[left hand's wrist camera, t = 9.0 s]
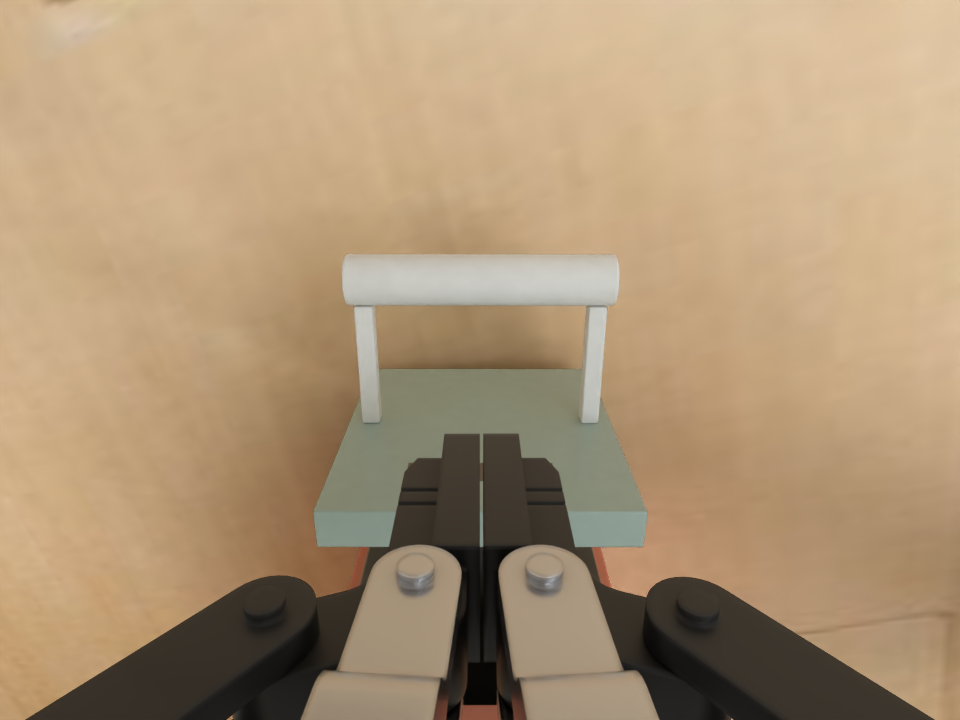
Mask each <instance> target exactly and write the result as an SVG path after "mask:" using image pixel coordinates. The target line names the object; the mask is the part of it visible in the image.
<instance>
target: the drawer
mask: <svg viewBox="0 0 960 720" xmlns="http://www.w3.org/2000/svg"><path fill="white" fill-rule="evenodd" d="M619 281H620V273H619V263H618V259H617V257H616V255H614V254H347V255H345V257H344V260H343V264H342V291H343V296H344V300H345V302H346V304H347V305H355V307H354V318H355V331H356V343H357V356H358V369H359V381H360V394H361V396H360V399H359V401H358V404H357V406H356V408H355V411H354V413H353V416H352V418H351V421H350V423H349V426H348V428H347V430H346V433H345V435H344V438H343V440H342V443H341V445H340V448H339V450H338V453H337V455H336V457H335V460H334V462H333V465H332V467H331V470H330V472H329V475H328V477H327V479H326V482H325V484H324V487H323V489H322V492H321V494H320V497H319V499H318V502H317V504H316V506H315V509H314V511H313V515H314V523H315V532H316V540H317V546H318V547H369V548H368V552H367V556H366V560H365V564H364V568H363V572H362V576H361V580H360V584H359V585H361V584H363V583H365V582H366V581H368V578H369V575H370V572H371V570H372V568H373V566H374V565H375V563H376V562H377V561H378V560H379V559H380V558H381V557H383V556H384V555H385V554H387V553H388V548H389V543H390V539H391V534H392V529H393V524H394V519H395V515H396V510H397V505H398V500H399V495H400V492H401V486H402V481H403V476H404V472H405V471H406V470H407V469H408V468H409V467H410V466H411V465H412V464H413V462H414V461H415V460H416V459H417V458H442V450H443V441H444V434H480V662H468V668H467V687H466V691H465V694H464V696H463V705H497V665H496V662H484V596H483V433H518V434H519V439H520V448H521V456H522V458H546V459H547V460H548V461H549V462H550V463H551V464H552V465H553V466H554V467H555V468H556V469H557V470H558V472H559V475H560V479H561V484H562V491H563V493H564V498H565V505H566V507H567V512H568V516H569V521H570V525H571V530H572V535H573V539H574V544H575V548H576V553H577V557H579V558H580V559H581V560H582V561H583V562H584V563H585V565H586V566H587V568H588V570H589V572H590V575H591V577H592V578H594V579H595V580H597V581H598V582H600V583H601V580H600V576H599V572H598V568H597V564H596V560H595V556H594V552H593V548H592V547H643V546H644V539H645V530H646V522H647V514H648V512H647V510H646V507H645V505H644V502H643V500H642V497H641V495H640V492H639V490H638V487H637V485H636V483H635V480H634V478H633V475H632V473H631V470H630V468H629V465H628V463H627V461H626V458H625V456H624V453H623V451H622V448H621V446H620V443H619V441H618V439H617V436H616V434H615V431H614V429H613V426H612V424H611V421H610V419H609V417H608V414H607V412H606V409H605V407H604V404H603V402H602V399H601V397H600V393H601V380H602V368H603V356H604V343H605V331H606V319H607V307H606V306H612V305H614V304H615V303H616V300H617V297H618V292H619ZM375 305H483V306H586V317H585V332H584V346H583V361H582V369H379V362H378V347H377V331H376V316H375Z"/></svg>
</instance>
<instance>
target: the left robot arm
mask: <svg viewBox="0 0 960 720" xmlns="http://www.w3.org/2000/svg"><path fill="white" fill-rule="evenodd" d="M483 596H484V662H496V665H497V715H498V720H731V718H732V719H733V720H934V719H933V718H931V717H929V716H928V715H926V714H925V713H923V712H921V711H920V710H918V709H917V708H915V707H913V706H912V705H910V704H908V703H907V702H905V701H904V700H902V699H900V698H899V697H897V696H896V695H894V694H892V693H891V692H889V691H888V690H886V689H884V688H883V687H881V686H879V685H878V684H876V683H875V682H873V681H871V680H870V679H868V678H867V677H865V676H863V675H862V674H860V673H859V672H857V671H855V670H854V669H852V668H850V667H849V666H847V665H846V664H844V663H842V662H841V661H839V660H838V659H836V658H834V657H833V656H831V655H830V654H828V653H826V652H825V651H823V650H821V649H820V648H818V647H817V646H815V645H813V644H812V643H810V642H809V641H807V640H805V639H804V638H802V637H801V636H799V635H797V634H796V633H794V632H792V631H791V630H789V629H788V628H786V627H784V626H783V625H781V624H780V623H778V622H776V621H775V620H773V619H772V618H770V617H768V616H767V615H765V614H763V613H762V612H760V611H759V610H757V609H755V608H754V607H752V606H751V605H749V604H747V603H746V602H744V601H743V600H741V599H739V598H738V597H736V596H734V595H733V594H731V593H730V592H728V591H726V590H725V589H723V588H721V587H719V586H718V585H715V584H713V583H711V582H708V581H705V580H701V579H697V578H691V577H674V578H668V579H665V580H662V581H660V582H659V583H657V584H655V585H654V586H653V587H652V588H651V589H650V591H649V592H648V595H647V598H646V597H642V596H638V595H634V594H630V593H626V592H622V591H618V590H615V589H612V588H610V587H608V586H605V585H604V584H602V583H600V582H598V581H597V580H595V579H594V578H592V577H591V575H590V572H589V570H588V568H587V566H586V565H585V563H584V562H583V561H582V560H581V559H580V558H579V557H577V553H576V548H575V544H574V539H573V535H572V530H571V525H570V521H569V516H568V512H567V507H566V505H565V498H564V493H563V491H562V484H561V479H560V475H559V472H558V470H557V469H556V468H555V467H554V466H553V465H552V464H551V463H550V462H549V461H548V460H547V459H546V458H522V456H521V448H520V439H519V434H518V433H483ZM468 662H480V434H444V441H443V450H442V458H417V459H416V460H415V461H414V462H413V464H412V465H411V466H410V467H409V468H408V469H407V470H406V471H405V472H404V476H403V481H402V486H401V492H400V495H399V500H398V505H397V510H396V515H395V519H394V524H393V529H392V534H391V539H390V543H389V548H388V553H387V554H385V555H384V556H383V557H381V558H380V559H379V560H378V561H377V562H376V563H375V565H374V566H373V568H372V570H371V572H370V575H369V578H368V581H366V582H365V583H363V584H361V585H359V586H357V587H355V588H352V589H350V590H347V591H343V592H340V593H335V594H331V595H327V596H323V597H319V598H316V596H315V593H314V591H313V589H312V588H311V586H310V585H308V584H307V583H306V582H304V581H303V580H301V579H298V578H295V577H290V576H269V577H264V578H260V579H256V580H253V581H251V582H248V583H246V584H244V585H242V586H240V587H239V588H237V589H235V590H234V591H232V592H230V593H229V594H227V595H226V596H224V597H222V598H221V599H219V600H217V601H216V602H214V603H213V604H211V605H209V606H208V607H206V608H205V609H203V610H201V611H200V612H198V613H197V614H195V615H193V616H192V617H190V618H188V619H187V620H185V621H184V622H182V623H180V624H179V625H177V626H176V627H174V628H172V629H171V630H169V631H168V632H166V633H164V634H163V635H161V636H159V637H158V638H156V639H155V640H153V641H151V642H150V643H148V644H147V645H145V646H143V647H142V648H140V649H139V650H137V651H135V652H134V653H132V654H130V655H129V656H127V657H126V658H124V659H122V660H121V661H119V662H118V663H116V664H114V665H113V666H111V667H110V668H108V669H106V670H105V671H103V672H101V673H100V674H98V675H97V676H95V677H93V678H92V679H90V680H89V681H87V682H85V683H84V684H82V685H81V686H79V687H77V688H76V689H74V690H72V691H71V692H69V693H68V694H66V695H64V696H63V697H61V698H60V699H58V700H56V701H55V702H53V703H52V704H50V705H48V706H47V707H45V708H44V709H42V710H40V711H39V712H37V713H35V714H34V715H32V716H31V717H29V718H27V719H26V720H227V719H228V718H229V717H230V716H232V715H233V719H232V720H462V715H463V696H464V694H465V691H466V687H467V668H468Z"/></svg>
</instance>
